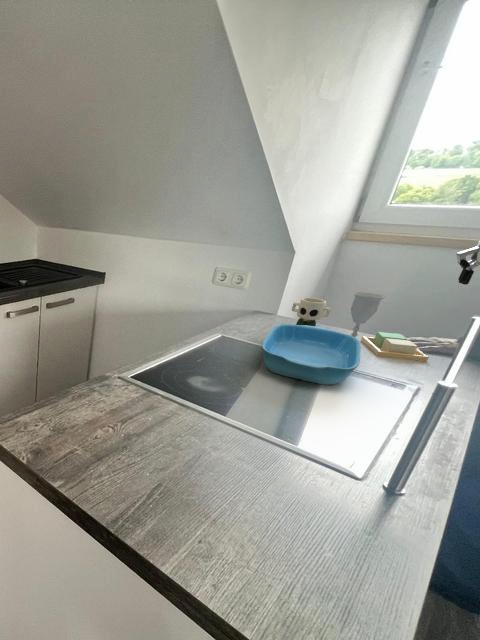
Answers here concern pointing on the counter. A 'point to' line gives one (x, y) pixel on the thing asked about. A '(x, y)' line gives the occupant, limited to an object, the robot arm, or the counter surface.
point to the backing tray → (417, 355)
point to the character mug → (310, 311)
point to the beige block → (399, 346)
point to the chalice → (364, 308)
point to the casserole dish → (311, 353)
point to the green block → (381, 337)
